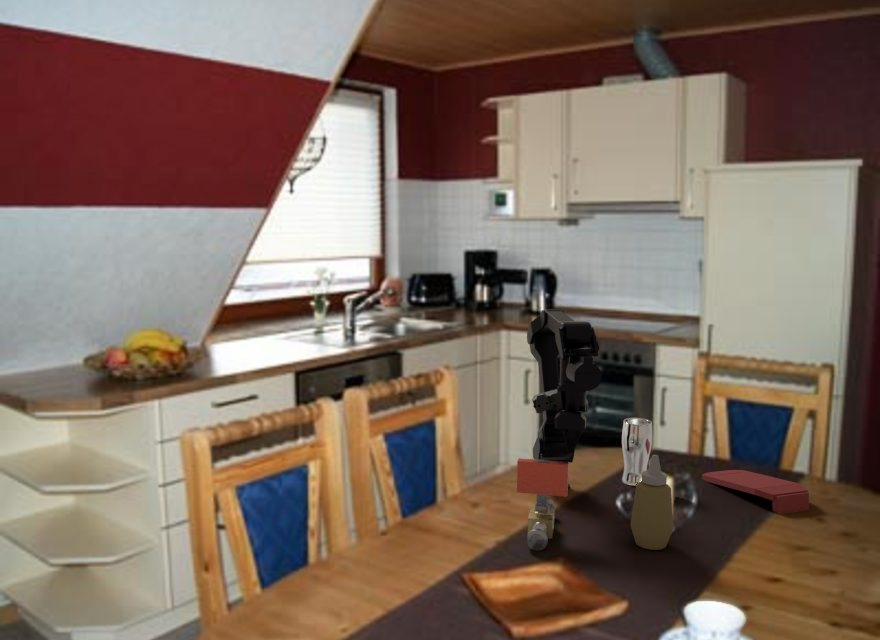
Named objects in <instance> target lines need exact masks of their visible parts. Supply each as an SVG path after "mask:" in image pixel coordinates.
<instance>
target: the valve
mask: <svg viewBox="0 0 880 640" xmlns="http://www.w3.org/2000/svg"><path fill="white" fill-rule="evenodd" d="M536 503H537V501H536V502H535V504H536ZM547 504H548V513H536V512H535V507H530V510H529V514H528V517H527V536H526V544H527V546H528V547H529V548H530V549H531V550H533V551H537V552H538V551H543V550H544V549H545V548H546V546H547V545H548V541H549V539H551V540H552V539H553V534H554V530H555V529H554V528H555V503H554V501H553V500H552V499H550V498H549V497H547Z"/></svg>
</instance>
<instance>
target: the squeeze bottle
mask: <svg viewBox="0 0 880 640" xmlns="http://www.w3.org/2000/svg"><path fill="white" fill-rule="evenodd" d="M667 478H668V475H667V474H666V473H665V472H663V471H662V468H661V464H660V458H659V454H651V457H650V462H649V465H648V467H647V470H646V471H643V472H642V481H641V482H639V483H638V484H637V485H636V486H635V492H634V499H633V506H632V510H631V518H630V524H629V526H630V528H631V531H632V534H633V538H634V542H635V545H637V546H638V547H640V548H643V549H645V550H651V551H652V550H653V551H654V550H655V551H658V550H663V549H666V547H667V545H668V543H669V540H670V538H671V536H672V533H673V531H674V517H673V502H672V499H673V498H672V488H671V486H670V485H669V484H668V483H667V481H668V479H667Z"/></svg>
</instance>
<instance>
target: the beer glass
mask: <svg viewBox="0 0 880 640" xmlns="http://www.w3.org/2000/svg"><path fill="white" fill-rule="evenodd" d="M622 424H623V425H622V431H621V432H622V433H621V446H622V447H621V448H622V456H623V465H624V468H623V473H622V478H621V482H622V483H623V484H625V485H628V486H630V487H632V486H633V487H636V484H637V482H638V479H639V477H641V476H642V472H643V471H646V470H648V464H649V458H650V454H651V451H652V446H653V445H652V443H653V422H652V420H649V419H646V418H641V417H627V418H625V419H623V423H622Z"/></svg>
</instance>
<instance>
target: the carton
mask: <svg viewBox="0 0 880 640" xmlns="http://www.w3.org/2000/svg"><path fill="white" fill-rule="evenodd" d="M701 480H703V481H705V482H708V483H711V484H714V485H718V486H723V487H725V488H729V489H732V490H736V491H741V492H744V493H748V494H750V495H754V496H757V497H760V498H764V499H766V500H770V501H771V505H772V511H773V512H774V513H776V514H778V515H783V514H790V513H797V512H805V510H806V511H810V495H809V494H810V493H809V490H808V489H807V488H806V487H804V486H803V485H802V484H801V483H798V482H795V481H790V480H786V479H782V478H777V477H774V476H770V475H766V474H762V473H757V472H753V471H748V470H744V469H728V470H727V469H726V470H719V471H717V470H716V471H710V472H705V473H703V474H701Z"/></svg>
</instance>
